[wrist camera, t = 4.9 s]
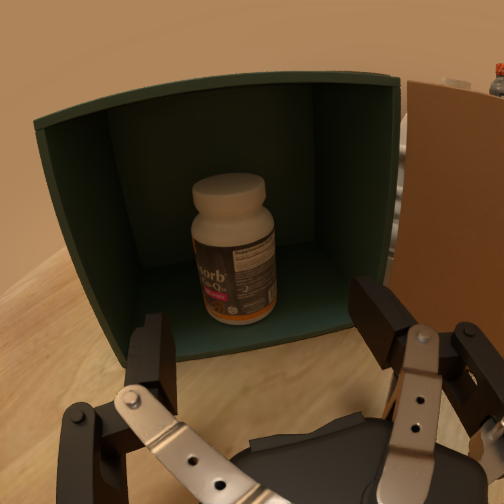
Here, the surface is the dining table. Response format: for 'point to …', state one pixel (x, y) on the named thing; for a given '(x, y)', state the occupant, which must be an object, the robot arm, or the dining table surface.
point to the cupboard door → (452, 211)
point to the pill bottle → (235, 247)
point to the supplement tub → (498, 82)
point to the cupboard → (221, 162)
